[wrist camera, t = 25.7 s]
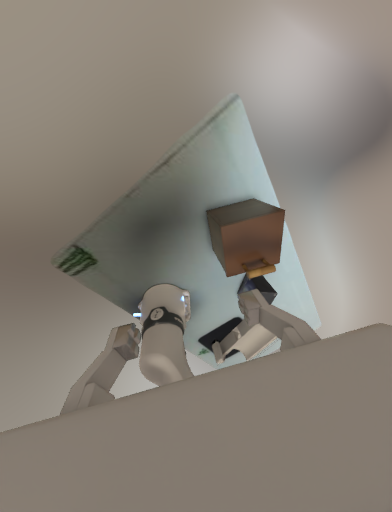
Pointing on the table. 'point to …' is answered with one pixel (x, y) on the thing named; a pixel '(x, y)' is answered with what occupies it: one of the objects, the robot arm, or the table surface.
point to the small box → (259, 287)
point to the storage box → (233, 219)
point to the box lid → (253, 244)
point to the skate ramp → (244, 341)
